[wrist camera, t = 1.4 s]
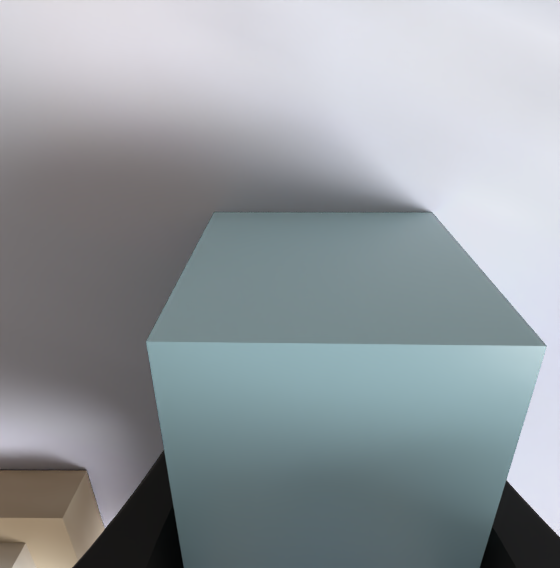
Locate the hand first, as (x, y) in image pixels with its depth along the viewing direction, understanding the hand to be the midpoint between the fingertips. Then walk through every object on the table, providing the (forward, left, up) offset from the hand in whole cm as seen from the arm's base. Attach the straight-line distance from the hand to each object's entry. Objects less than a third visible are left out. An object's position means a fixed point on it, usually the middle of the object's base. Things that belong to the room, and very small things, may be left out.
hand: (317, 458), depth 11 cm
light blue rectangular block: (0, 0, -2) cm, 2 cm away
